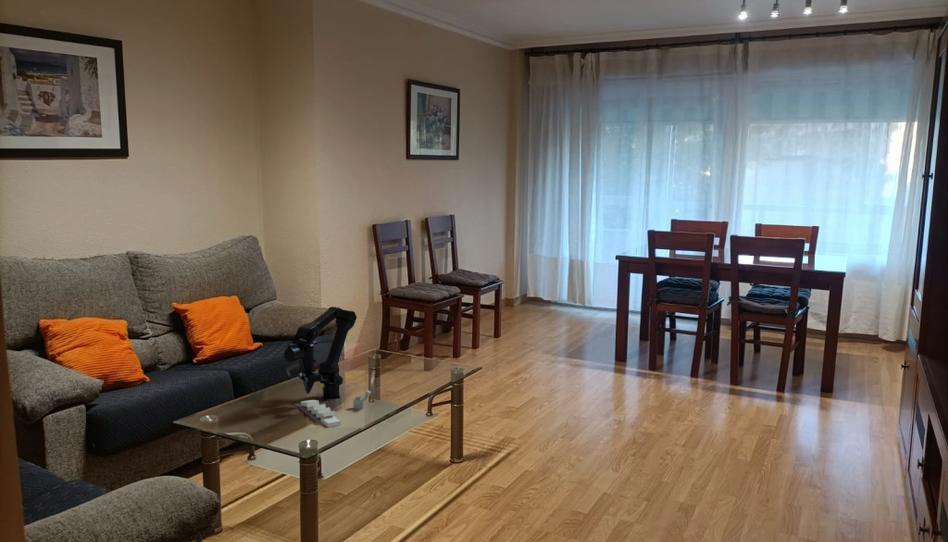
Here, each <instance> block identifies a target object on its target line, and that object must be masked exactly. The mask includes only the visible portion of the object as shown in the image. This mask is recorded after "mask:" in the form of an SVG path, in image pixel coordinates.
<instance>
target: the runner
mask: <svg viewBox="0 0 948 542" xmlns="http://www.w3.org/2000/svg"><path fill="white" fill-rule="evenodd" d="M294 405H295V406H297V407H298V408H299V409H300V410H301V411H303V413H305V414H306V415H307V416H309V417H310V418H311V419H313V421H315V422H316V423H317V424H319V425H324V424H323V423H322V422H321V417H320V418H316V414H312V413H311V410H309V411H307V407H306V406H301V402H297V403H294Z"/></svg>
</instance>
